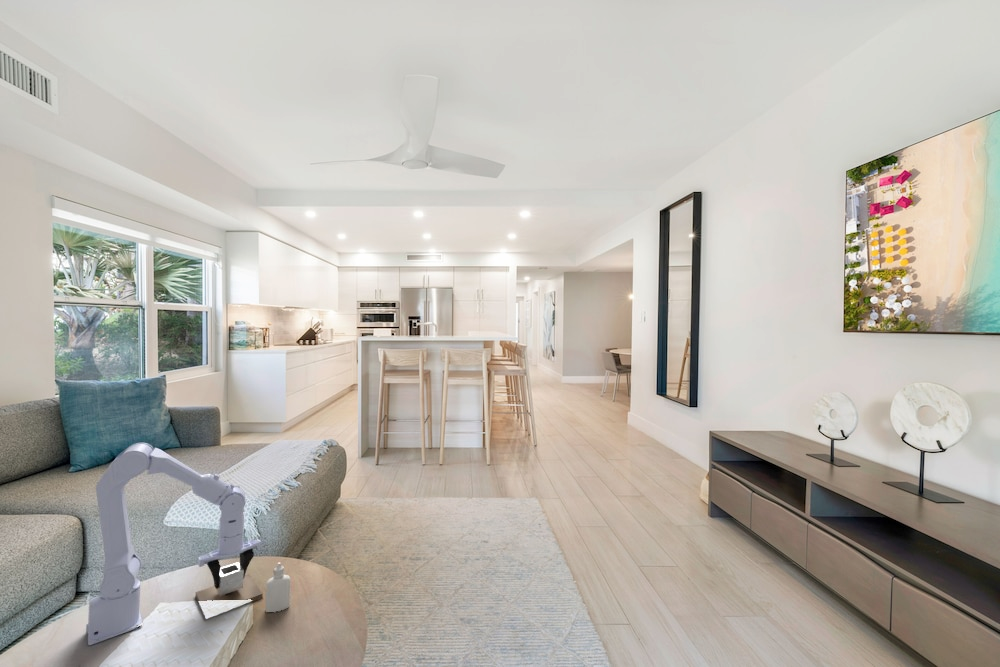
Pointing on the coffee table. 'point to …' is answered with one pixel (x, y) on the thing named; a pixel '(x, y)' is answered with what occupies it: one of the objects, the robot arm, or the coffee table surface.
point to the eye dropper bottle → (278, 590)
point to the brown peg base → (245, 593)
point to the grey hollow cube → (230, 578)
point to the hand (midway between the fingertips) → (229, 582)
